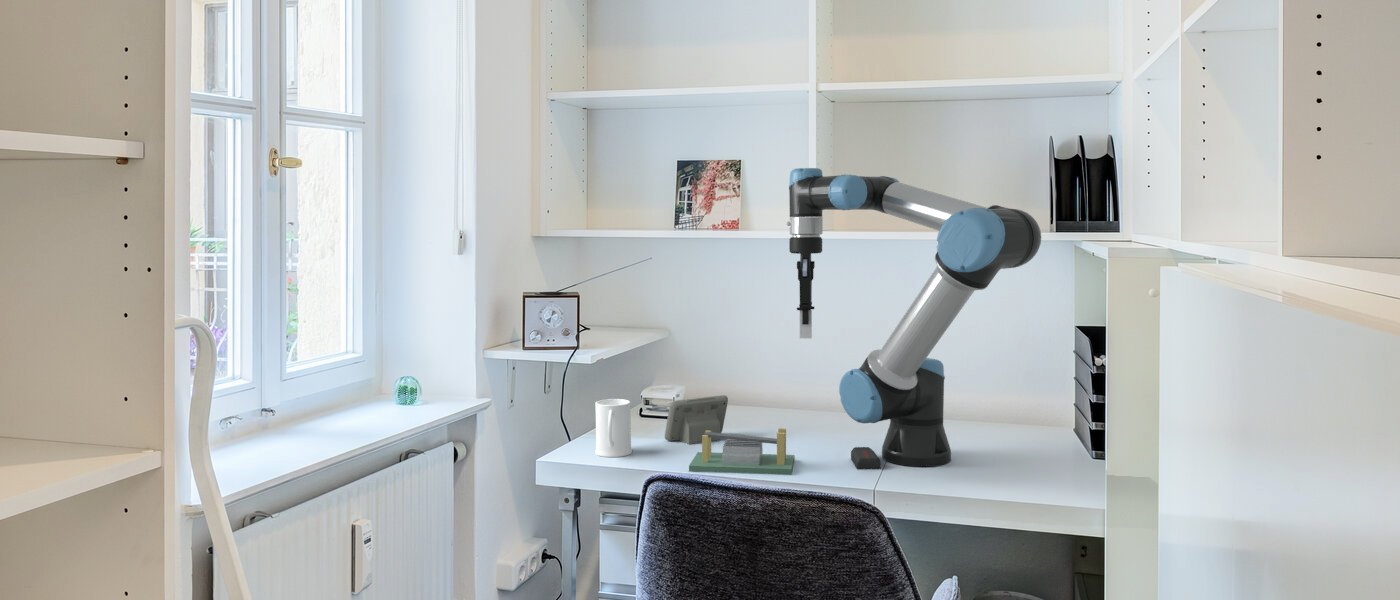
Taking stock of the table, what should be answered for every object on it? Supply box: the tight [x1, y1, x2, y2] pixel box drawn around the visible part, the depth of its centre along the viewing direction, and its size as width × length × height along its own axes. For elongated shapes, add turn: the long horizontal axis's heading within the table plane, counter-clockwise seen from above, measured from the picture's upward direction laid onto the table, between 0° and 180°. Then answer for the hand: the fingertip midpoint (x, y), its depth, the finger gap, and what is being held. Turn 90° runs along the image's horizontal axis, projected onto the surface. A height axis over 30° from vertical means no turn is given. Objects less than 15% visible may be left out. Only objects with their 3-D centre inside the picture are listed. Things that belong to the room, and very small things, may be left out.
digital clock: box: [664, 394, 729, 445], centre depth 232 cm, size 16×9×11 cm, turn 107°
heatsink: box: [722, 439, 764, 466], centre depth 207 cm, size 8×8×4 cm
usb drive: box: [850, 446, 882, 470], centre depth 210 cm, size 5×12×3 cm, turn 0°
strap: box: [704, 432, 777, 445], centre depth 207 cm, size 18×3×1 cm, turn 81°
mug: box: [594, 398, 633, 458], centre depth 218 cm, size 12×8×12 cm
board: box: [688, 427, 796, 476], centre depth 207 cm, size 22×12×8 cm, turn 81°
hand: (805, 337), depth 219 cm, fingers closed
